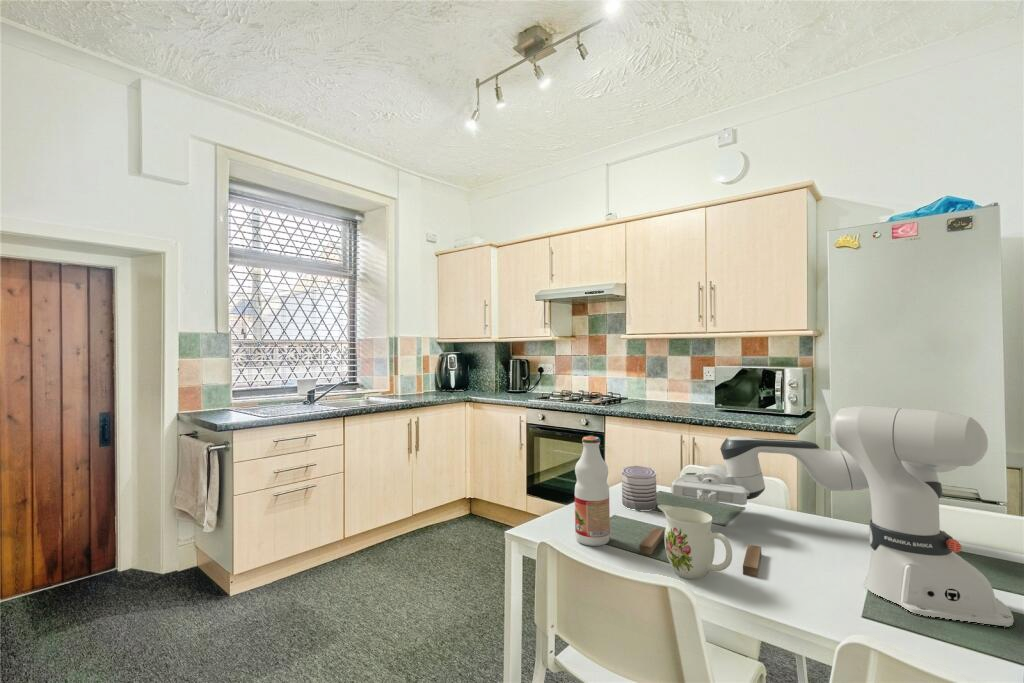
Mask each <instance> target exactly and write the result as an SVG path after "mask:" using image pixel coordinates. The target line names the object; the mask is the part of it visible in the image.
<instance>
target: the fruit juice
mask: <svg viewBox="0 0 1024 683" xmlns="http://www.w3.org/2000/svg"><path fill="white" fill-rule="evenodd" d="M581 442H582V446H583V447H582V448H583V449H582V452H581V455H580V457H579V459H578V460H577V462H576V463H575V467H574V473H575V477H576V483H575V485H574V522H575V523H574V525H575V528H574V529H575V530H574V532H575V533H574V534H575V540H576V541H577V542H578V543H579V544H581V545H584V546H589V547H590V546H591V547H597V546H598V547H599V546H604V545H607V544H608V543H609V542H610V539H611V529H610V528H611V524H610V522H611V521H610V518H611V517H610V513H611V512H610V511H611V510H610V488H609V484H608V476H609V467H608V464H607V462H606V461H605V460H604V459H603V457H602V453H601V450H600V444H601V438H600V437H598V436H593V435H592V436H583V437H582V439H581Z"/></svg>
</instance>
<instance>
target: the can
mask: <svg viewBox="0 0 1024 683" xmlns="http://www.w3.org/2000/svg"><path fill="white" fill-rule="evenodd" d="M620 472H621V489H622V490H621V492H622V494H621V498H622V502H621V503H622V504H623V505H624V506H625V507H627V508H630V509H635V510H650V509H654V508H655V507H656V505H657V506H658V504H657V503H658V502H657V473H658V471H657V470H654V469H653V468H651V467H648V466H641V465H632V466H625V467H623V468H622V469H621V470H620ZM622 504H621V505H622ZM624 506H623V507H624ZM625 507H624V508H625ZM627 508H626V509H627ZM656 508H657V507H656ZM630 509H629V510H630Z"/></svg>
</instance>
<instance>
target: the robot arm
mask: <svg viewBox="0 0 1024 683" xmlns="http://www.w3.org/2000/svg"><path fill="white" fill-rule="evenodd" d="M830 432H831V435H832V438H833V440H834V441H835V443H836V444H837V445H838V446H839V447H840V448H841V449H842V450H827V449H825V448H821V447H820V446H819V445H818V444H817V443H815V442H813V441H812V442H811V441H807V440H800V439H799V440H797V439H782V438H781V439H779V438H778V439H777V438H776V439H775V438H758V437H749V436H741V435H740V436H739V435H738V436H737V435H735V436H734V435H733V436H729V437H727V438H726V439H724V441H723V442H722V444H721V446H720V449H719V450H720V452H721V455H722V458H723V461H724V464H725V465H723V464H712V465H709V466H707V467H706V468H704V470H703V471H700V472H683V473H681V476H679V477H677V478H675V479H674V480H673V481H672V482H671V488H670V489H671V495H672V496H674V497H680V498H688V499H689V498H690V499H695V500H698V501H699V502H704V503H705V502H707V503H710V504H718V503H725V504H731V505H740V506H745V505H747V503H748V501H749V500H753V499H756V498H757V497H759V496H760V495H761V494H762V493H763V492H764V491H765V490H766V484H765V480H764V475H763V472H762V468H761V464H760V463H761V462H760V460H759V454H760V453H766V454H783V455H785V454H786V455H788V456H789V455H790V456H792V457H794V458H796V459H797V460H798V461H799V462H800V464H801V465H802V466H803V468H804V469H805V471H806V472H807V473H808V475H809V476H810V477H811V479H812V480H813V481H814V482H815V483H816V484H817V485H819V486H820V487H822V488H823V489H825V490H828V491H831V492H832V491H833V492H848V491H850V492H851V491H860V490H861V491H862V490H867V489H869V497H870V505H871V506H870V507H871V519H870V520H869V526H868V535H869V536H868V537H869V538H868V539H869V545H870V547H871V549H870V550H871V551H870V552H871V553H870V560H869V566H868V571H867V574H866V577H865V581H864V585H865V588H866V589H867V590H868V591H869V592H871V593H872V594H873V593H874V594H873V595H875V594H876V595H875V596H877V595H878V596H877V597H879V596H881V597H883V598H885V599H887V600H890V601H892V602H894V603H897V604H899V605H901V606H902V607H904V608H905V609H907V610H909V611H910V612H913V613H917V614H920V615H919V616H921V615H923V616H922V617H928V616H929V618H935V617H940V618H939V619H942V618H945V619H944V620H949V619H952V620H951V621H956V620H960V621H959V622H963V621H968V622H967V623H970V622H977V623H984V624H995V625H1006V626H1010V625H1012V624H1013V622H1014V623H1015V620H1014V616H1013V613H1012V611H1011V610H1010V609H1009V608H1008V606H1007V605H1006V604H1005V603H1003V602H1002V601H1001V600H1000V599H998V598H997V597H996V595H995V591H994V589H993V586H992V585H991V583H990V581H989V579H988V578H987V577H986V576H985V574H983V573H982V572H981V571H980V570H979V569H977V568H976V567H975V566H973V565H972V564H971V563H969V562H968V561H967V560H965V559H964V558H963V557H961V556H960V555H959V554H957V553H959V552H960V551H962V549H963V546H962V545H961V544H960V542H959V541H957V540H956V539H954V538H953V537H952V536H951V535H950V534H948V533H947V532H946V531H944V530H941V526H940V521H941V520H940V502H939V501H940V498H942V496H943V486H942V483H941V482H940V481H939V477H938V473H948V472H952V471H955V470H956V469H959V468H960V467H972V466H975V465H976V464H977V463H979V462H980V461H981V460H982V459H984V456H985V455H986V453H987V450H988V448H989V447H988V446H989V442H988V441H989V440H988V436H987V433H986V431H985V430H984V428H983V426H982V425H981V424H980V423H979V422H978V421H977V420H976V419H974V418H973V417H971V416H967V415H962V414H958V413H952V412H948V411H944V410H933V409H918V408H907V407H906V408H904V407H893V406H892V407H891V406H879V405H878V406H876V405H856V406H854V405H853V406H847V407H842V408H840V409H839V410H838V411H837V412H835V414H834V415H833V418H832V419H831V423H830ZM885 599H884V600H885ZM887 600H886V601H887ZM892 602H891V603H892ZM894 603H893V604H894ZM902 607H901V608H902ZM905 609H904V610H905ZM907 610H906V611H907ZM910 612H909V613H910ZM913 613H912V614H913ZM930 616H931V617H930ZM977 623H976V624H977ZM984 624H983V625H984Z"/></svg>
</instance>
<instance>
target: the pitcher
mask: <svg viewBox="0 0 1024 683" xmlns="http://www.w3.org/2000/svg"><path fill="white" fill-rule="evenodd" d="M657 508H658V509H659V510H660V511H661V512H662V513H663V514H664V516H665V519H666V522H667V523H666V527H665V529H664V547H665V548H664V549H665V553H666V557H667V560H668V562H669V564H670V566H671V568H672V569H673V571H674V572H675V574H676V575H678V576H679V577H682V578H684V579H685V578H686V579H689V580H699V579H703V578H704V577H706V575H707V574H708V572H721V571H725V570H726V569H727V568H729V566H731V564H732V561H733V549H732V545H731V542H730V540H729V539H728V538H727V537H726V536H725V535H724V534H723V533H721V532H712V525H713V524H712V523H713V517H712V515H711V514H709V513H707V512H706V511H702V510H699V509H695V508H690V507H683V506H682V507H681V506H674V505H669V504H657ZM715 539H717V540H720V541H721V542H722V544H723V545H724V548H725V559H724V561H723V562H722V563H719V564H714V563H713V562H714V557H715V553H716V552H715V551H716V550H715V548H716V546H715V543H716V542H715Z"/></svg>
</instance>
